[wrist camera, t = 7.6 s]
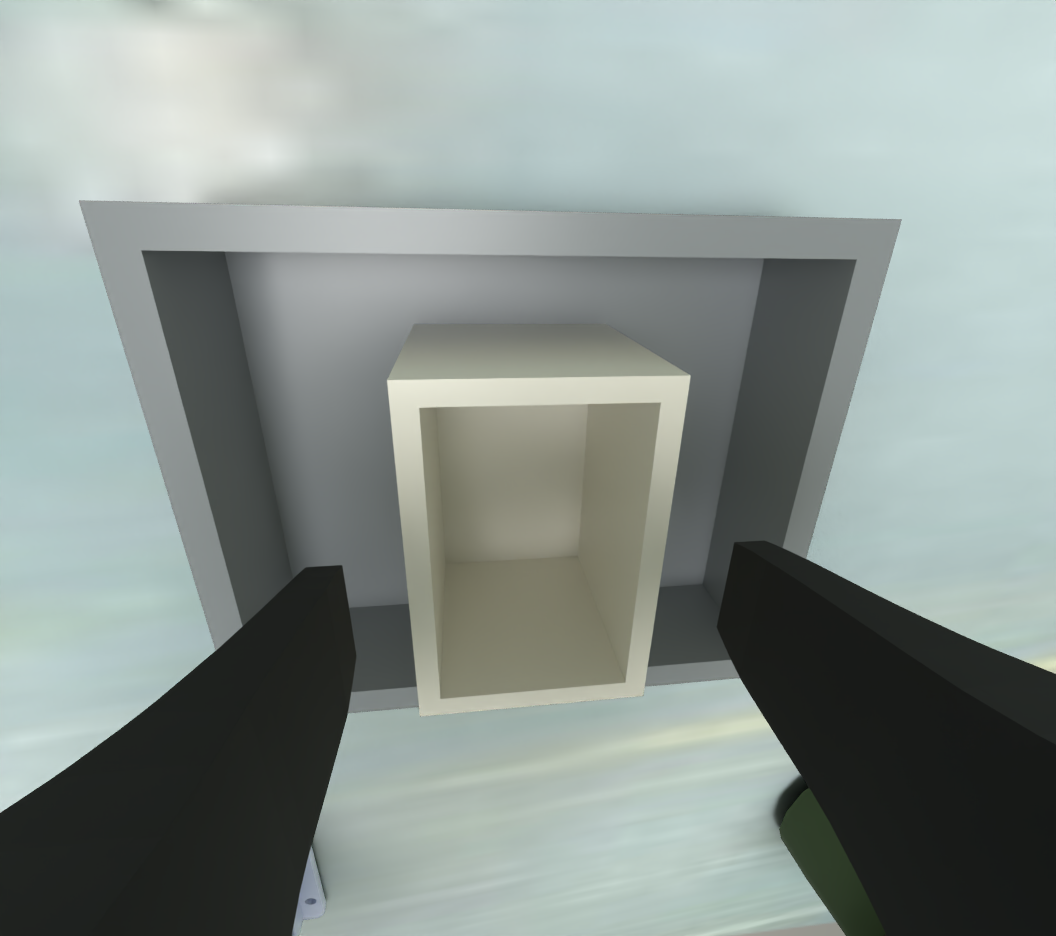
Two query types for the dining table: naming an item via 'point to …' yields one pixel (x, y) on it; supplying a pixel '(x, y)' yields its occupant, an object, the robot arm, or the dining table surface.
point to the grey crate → (472, 298)
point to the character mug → (828, 867)
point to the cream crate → (532, 509)
